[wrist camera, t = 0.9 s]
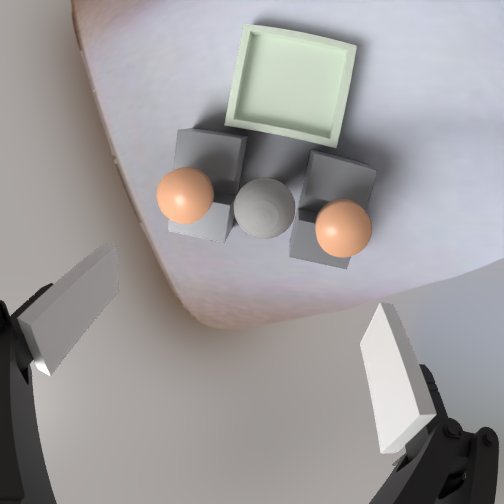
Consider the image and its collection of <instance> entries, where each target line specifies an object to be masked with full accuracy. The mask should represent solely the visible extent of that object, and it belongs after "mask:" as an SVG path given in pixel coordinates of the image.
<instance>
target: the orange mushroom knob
mask: <svg viewBox="0 0 504 504" xmlns="http://www.w3.org/2000/svg"><path fill="white" fill-rule="evenodd" d="M315 231H316V236H317V240H318V243H319V244H320V246H321V247H322V249H323V250H324V251H325V252H327V253H328V254H330V255H332V256H335V257H343V258H344V257H350V256H353V255H355V254H357V253H359V252H360V251H362V250H363V249H364V248H365V247H366V245H367V244H368V242H369V240H370V237H371V233H372V225H371V221H370V219H369V217H368V215H367V214H366V212H365V211H364V210H363V208H362V207H361V206H360V205H359V204H357V203H356V202H354V201H351V200H347V199H338V200H334V201H331V202H329V203H328V204H326V205H325V206H324V207H323V208H322V209H321V210H320V211H319V213H318V215H317V217H316V221H315Z"/></svg>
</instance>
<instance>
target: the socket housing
mask: <svg viewBox="0 0 504 504" xmlns="http://www.w3.org/2000/svg"><path fill="white" fill-rule="evenodd" d="M247 138H248V136H243V135H237V134H231V133H224V132H217V131H210V130H203V129H195V128H190V129H181V130H178V134H177V141H176V149H175V158H174V167H173V170H176V169H178V168H181V167H193V168H196V169H199V170H200V171H202V172H203V173H204V174H206V175H207V177H208V178H209V179H210V181H211V183H212V186H213V190H214V199H213V203H212V205H211V207H210V209H209V210H208V211H207V212H206V214H205V215H204V216H203V217H202V218H201V219H199V220H198V221H196V222H194V223H190V224H180V223H176V222H174V221H172V220H170V219H169V225H168V231H170V232H175V233H180V234H184V235H189V236H194V237H199V238H203V239H208V240H213V241H217V242H222V243H225V241H226V239H227V237H228V235H229V233H230V231H231V229H232V226H233V220H234V202H235V199H236V196H237V194H238V190H239V184H240V178H241V172H242V166H243V161H244V155H245V149H246V144H247ZM376 174H377V170H375V169H374V168H372V167H370V166H369V165H367V164H365V163H361V162H358V161H354V160H351V159H347V158H343V157H340V156H336V155H332V154H328V153H324V152H320V151H316V150H312V149H311V152H310V157H309V161H308V166H307V170H306V175H305V179H304V183H303V188H302V192H301V196H300V200H299V205H298V209H297V213H296V217H295V221H294V225H293V229H292V233H291V238H290V257H292V258H297V259H301V260H306V261H311V262H315V263H320V264H325V265H329V266H334V267H338V268H343V269H347V267H348V264H349V261H350V258H351V256H350V257H344V258H343V257H335V256H332V255H330V254H328V253H327V252H325V251H324V250H323V249H322V247H321V246H320V244H319V243H318V240H317V236H316V231H315V221H316V217H317V215H318V213H319V211H320V210H321V209H322V208H323V207H324V206H325V205H326V204H328V203H329V202H331V201H334V200H338V199H347V200H351V201H354V202H356V203H357V204H359V205H360V206H361V207H362V208H363V210H366V209H367V205H368V202H369V199H370V195H371V192H372V188H373V185H374V181H375V177H376Z"/></svg>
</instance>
